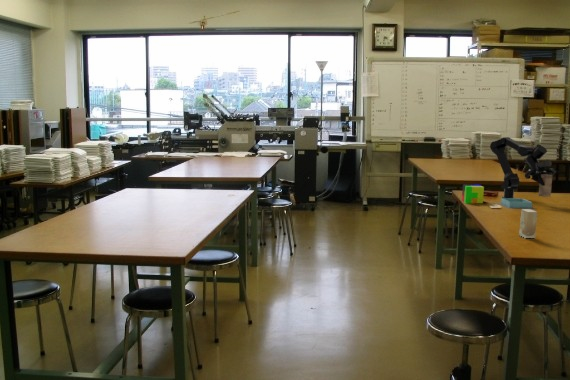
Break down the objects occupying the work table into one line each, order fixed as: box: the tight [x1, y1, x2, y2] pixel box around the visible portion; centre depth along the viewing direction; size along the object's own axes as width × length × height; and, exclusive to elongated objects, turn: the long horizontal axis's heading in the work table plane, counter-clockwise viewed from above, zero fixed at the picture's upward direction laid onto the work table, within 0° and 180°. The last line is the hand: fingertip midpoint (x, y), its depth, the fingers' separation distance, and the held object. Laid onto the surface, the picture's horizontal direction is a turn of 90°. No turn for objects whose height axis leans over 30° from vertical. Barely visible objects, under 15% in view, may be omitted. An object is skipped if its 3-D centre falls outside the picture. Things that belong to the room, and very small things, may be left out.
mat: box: [496, 202, 537, 210], centre depth 324 cm, size 18×16×1 cm
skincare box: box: [518, 209, 538, 239], centre depth 245 cm, size 6×4×12 cm
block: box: [538, 174, 553, 198], centre depth 325 cm, size 4×4×12 cm
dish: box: [500, 197, 533, 208], centre depth 324 cm, size 13×13×3 cm
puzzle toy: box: [461, 183, 485, 205], centre depth 336 cm, size 10×10×10 cm
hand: (547, 185), depth 324 cm, fingers closed on block, 4 cm apart
